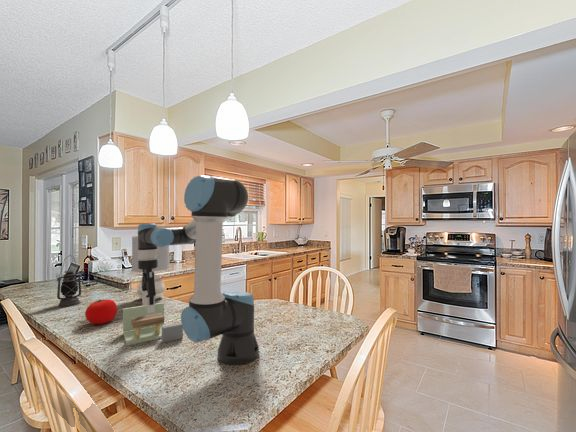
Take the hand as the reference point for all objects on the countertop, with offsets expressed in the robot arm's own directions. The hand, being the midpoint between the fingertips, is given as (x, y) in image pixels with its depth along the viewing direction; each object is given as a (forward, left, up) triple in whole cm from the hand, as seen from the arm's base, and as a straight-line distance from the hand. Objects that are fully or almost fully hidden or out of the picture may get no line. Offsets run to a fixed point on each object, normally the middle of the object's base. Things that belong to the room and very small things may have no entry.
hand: (148, 308), depth 126 cm
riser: (-9, -8, -12) cm, 17 cm away
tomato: (+33, +16, -13) cm, 39 cm away
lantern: (+83, +31, -13) cm, 90 cm away
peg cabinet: (+4, 0, -12) cm, 13 cm away
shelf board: (0, 0, -6) cm, 6 cm away
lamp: (+68, -12, -12) cm, 71 cm away
